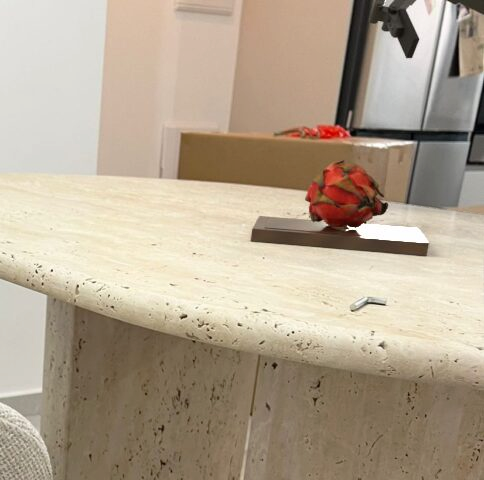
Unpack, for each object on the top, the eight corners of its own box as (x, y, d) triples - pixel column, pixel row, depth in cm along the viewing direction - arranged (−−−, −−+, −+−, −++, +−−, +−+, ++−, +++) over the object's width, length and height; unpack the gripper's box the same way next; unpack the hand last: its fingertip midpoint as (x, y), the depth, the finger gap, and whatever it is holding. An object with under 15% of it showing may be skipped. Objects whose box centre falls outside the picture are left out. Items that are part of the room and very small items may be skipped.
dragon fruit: (319, 232, 124) (361, 262, 113) (277, 192, 120) (317, 219, 110) (367, 181, 121) (414, 206, 111) (326, 138, 118) (371, 160, 107)
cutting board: (416, 240, 121) (418, 227, 121) (426, 256, 109) (429, 242, 108) (257, 227, 126) (259, 215, 126) (250, 241, 114) (252, 227, 113)
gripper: (493, -23, 136) (546, 70, 124) (323, -19, 134) (360, 75, 123) (516, -75, 129) (574, 17, 118) (338, -71, 128) (378, 22, 117)
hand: (465, 47), depth 120 cm, fingers open, 13 cm apart
